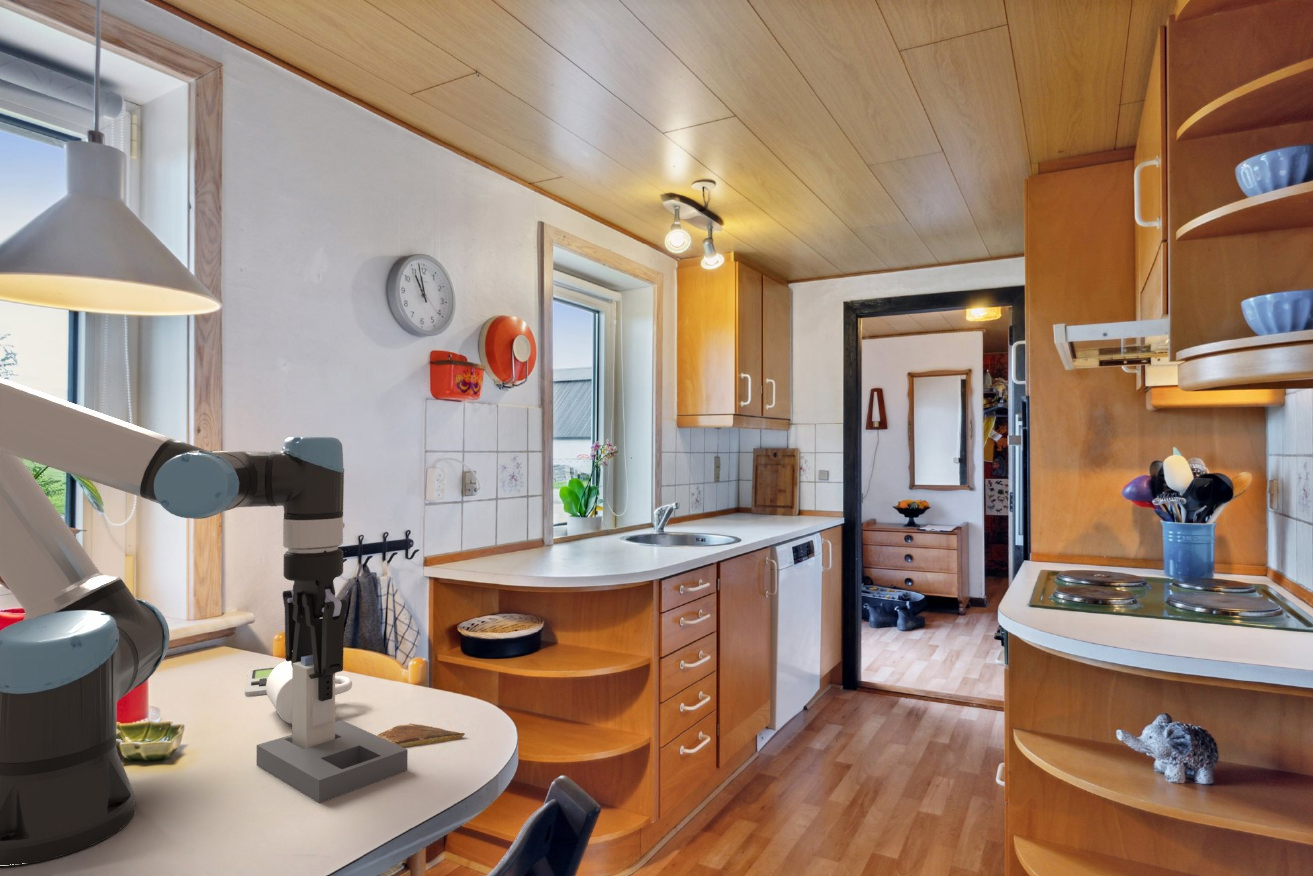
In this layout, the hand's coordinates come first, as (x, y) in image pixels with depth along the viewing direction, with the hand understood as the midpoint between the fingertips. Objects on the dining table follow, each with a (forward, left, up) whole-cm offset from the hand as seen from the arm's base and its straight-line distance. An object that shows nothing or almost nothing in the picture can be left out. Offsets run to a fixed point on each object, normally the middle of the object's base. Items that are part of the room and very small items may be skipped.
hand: (313, 718), depth 105 cm
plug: (0, 0, -4) cm, 4 cm away
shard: (+14, -4, -6) cm, 16 cm away
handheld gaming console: (+13, +40, -6) cm, 42 cm away
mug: (+9, +19, -6) cm, 21 cm away
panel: (0, -5, -6) cm, 8 cm away
